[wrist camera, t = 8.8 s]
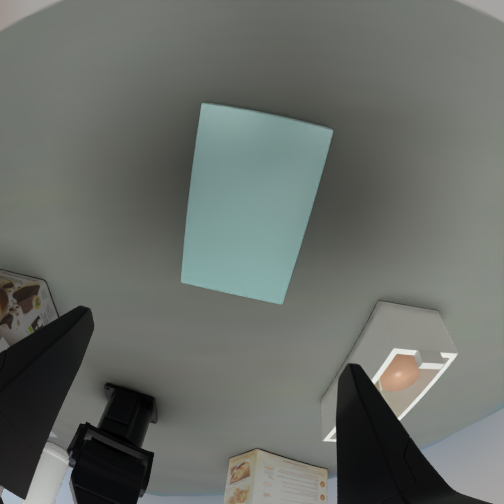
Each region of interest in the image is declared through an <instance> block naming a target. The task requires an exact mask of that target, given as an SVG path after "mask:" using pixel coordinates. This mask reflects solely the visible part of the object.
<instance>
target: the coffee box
mask: <svg viewBox="0 0 504 504" xmlns="http://www.w3.org/2000/svg"><path fill="white" fill-rule="evenodd" d="M57 318H58V316H57V313H56V310H55V307H54V305H53V302H52V299H51V296H50V293H49V290H48V287H47V284H46V282H45V281H44V280H40V279H36V278H31V277H27V276H23V275H19V274H15V273H11V272H7V271H3V270H0V352H2V351H3V350H5V349H6V350H7V348H8V347H10V346H12V345H13V344H15V343H17V342H18V341H20V340H22V339H23V338H25V337H27V336H28V335H30V334H32V333H33V332H35V331H37V330H38V329H40V328H42V327H43V326H45V325H47V324H48V323H50V322H52V321H54V320H55V319H57Z"/></svg>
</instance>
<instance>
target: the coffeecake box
mask: <svg viewBox="0 0 504 504" xmlns="http://www.w3.org/2000/svg"><path fill="white" fill-rule="evenodd" d="M327 485H328V483H327V469H323V468H319V467H315V466H311V465H308V464H304V463H300V462H297V461H293V460H290V459H287V458H284V457H280V456H277V455H274V454H271V453H268V452H265V451H262V450H259V449H255V450H252V451H250V452H248V453H245V454H241V455H238V456H235V457H232V458H230V462H229V469H228V475H227V482H226V488H225V495H224V502H223V504H328V486H327Z"/></svg>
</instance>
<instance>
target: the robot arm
mask: <svg viewBox="0 0 504 504" xmlns="http://www.w3.org/2000/svg"><path fill="white" fill-rule="evenodd" d="M93 330H94V321H93V316H92V312H91V309H90V308H88V307H85V306H78V307H76V308H74V309H73V310H71V311H69V312H67V313H66V314H64V315H62V316H60V317H59V318H57V319H55V320H54V321H52V322H50V323H48V324H47V325H45V326H43V327H42V328H40V329H38V330H37V331H35V332H33V333H32V334H30V335H28V336H27V337H25V338H23V339H22V340H20V341H18V342H17V343H15V344H13V345H12V346H10V347H8V348H7V350H6V349H5V350H3V351H2V352H0V504H4V503H3V501H2V498H1V494H2V492H3V489H4V488H5V489H7V490H9V491H10V492H12V493H13V494H15V495H17V496H19V497H20V498H22V499H24V500H25V499H26V497H27V494H28V491H29V488H30V485H31V482H32V479H33V477H34V474H35V471H36V468H37V466H38V463H39V460H40V458H41V456H40V455H41V454H42V452H43V449H44V447H45V444H46V442H47V439H48V437H49V434H50V432H51V429H52V427H53V425H54V422H55V420H56V418H57V415H58V413H59V411H60V408H61V406H62V404H63V402H64V400H65V397H66V395H67V393H68V391H69V389H70V386H71V384H72V382H73V380H74V378H75V376H76V374H77V372H78V370H79V368H80V365H81V363H82V360H83V357H84V355H85V352H86V349H87V346H88V344H89V341H90V338H91V336H92V333H93ZM104 389H105V392H106V395H107V398H108V403H107V405H106V408H105V410H104V412H103V415H102V417H101V419H100V422H99V424H98V426H97V428H96V427H94V426H92V425H90V423H88V422H86V424H81V423H80V425H79V427H78V429H77V432H76V434H75V436H74V438H73V439H72V441H71V443H70V445H69V447H68V449H67V454H68V456H69V459H68V460H69V464H68V466H70V467H72V468H73V471H72V474H71V477H70V483H69V485H70V489H71V493H72V496H73V500H74V504H137V500H138V497H140V498H141V497H142V496H143V495H144V493H145V491H146V489H147V486H148V482H149V478H150V473H151V468H152V462H153V457H154V453H153V452H151V451H150V452H149V451H147V450H144V449H142V448H141V447H142V444H143V441H144V438H145V435H146V432H147V429H148V426H149V423H154V424H156V423H157V413H156V406H155V400H154V399H153V398H152V397H148V396H145V395H142V394H138V393H135V392H132V391H128V390H125V389H122V388H119V387H116V386H113V385H110V384H105V386H104ZM86 438H87V439H86ZM88 439H89V440H88ZM336 445H337V493H338V494H337V495H338V496H337V504H492V503H488V502H485V501H482V500H478V499H475V498H472V497H469V496H466V495H463V494H460V493H458V492H456V491H455V490H453V489H452V488H451V487H450V486H449V485H448V484H447V483H446V482H445V481H444V479H443V478H442V477H441V476H440V475H439V474H438V472H437V471H436V470H435V469H434V468H433V466H432V465H431V464H430V463H429V462H428V460H427V459H426V458H425V457H424V455H423V454H422V453H421V451H420V450H419V448H418V447H417V446H416V444H415V443H414V441H413V440H412V438H410V436H409V434H408V433H407V431H406V430H405V428H404V427H403V425H402V424H401V422H400V421H399V420H398V418H397V417H396V415H395V414H394V412H393V411H392V409H391V408H390V407H389V405H388V404H387V402H386V401H385V399H384V398H383V396H382V395H381V394H380V392H379V391H378V389H377V388H376V386H375V385H374V384H373V382H372V381H371V379H370V378H369V377H368V375H367V374H366V372H365V371H364V369H363V368H362V367H361V365H359V364H356V363H348V364H347V365H346V367H345V368H344V370H343V372H342V373H341V375H340V377H339V379H338V389H337V406H336Z"/></svg>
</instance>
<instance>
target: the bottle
mask: <svg viewBox="0 0 504 504" xmlns="http://www.w3.org/2000/svg"><path fill="white" fill-rule="evenodd" d="M40 456H41V458H40V460H39V463H38V466H37V468H36V471H35V474H34V477H33V479H32V482H31V485H30V488H29V491H28V494H27V497H26V499H25V500H24V499H22V504H54V503H55V501H56V498H57V495H58V492H59V490H60V487H61V484H62V482H63V479H64V477H65V474H66V471H67V469H68V467H69V466H68V464H69V460H68V459H69V456H68V454H67V451H66V450H65V449H63V448H61V447H60V446H58V445H56V444H54V443H52V442H46V444H45V447H44V449H43V452H42V454H41V455H40Z"/></svg>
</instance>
